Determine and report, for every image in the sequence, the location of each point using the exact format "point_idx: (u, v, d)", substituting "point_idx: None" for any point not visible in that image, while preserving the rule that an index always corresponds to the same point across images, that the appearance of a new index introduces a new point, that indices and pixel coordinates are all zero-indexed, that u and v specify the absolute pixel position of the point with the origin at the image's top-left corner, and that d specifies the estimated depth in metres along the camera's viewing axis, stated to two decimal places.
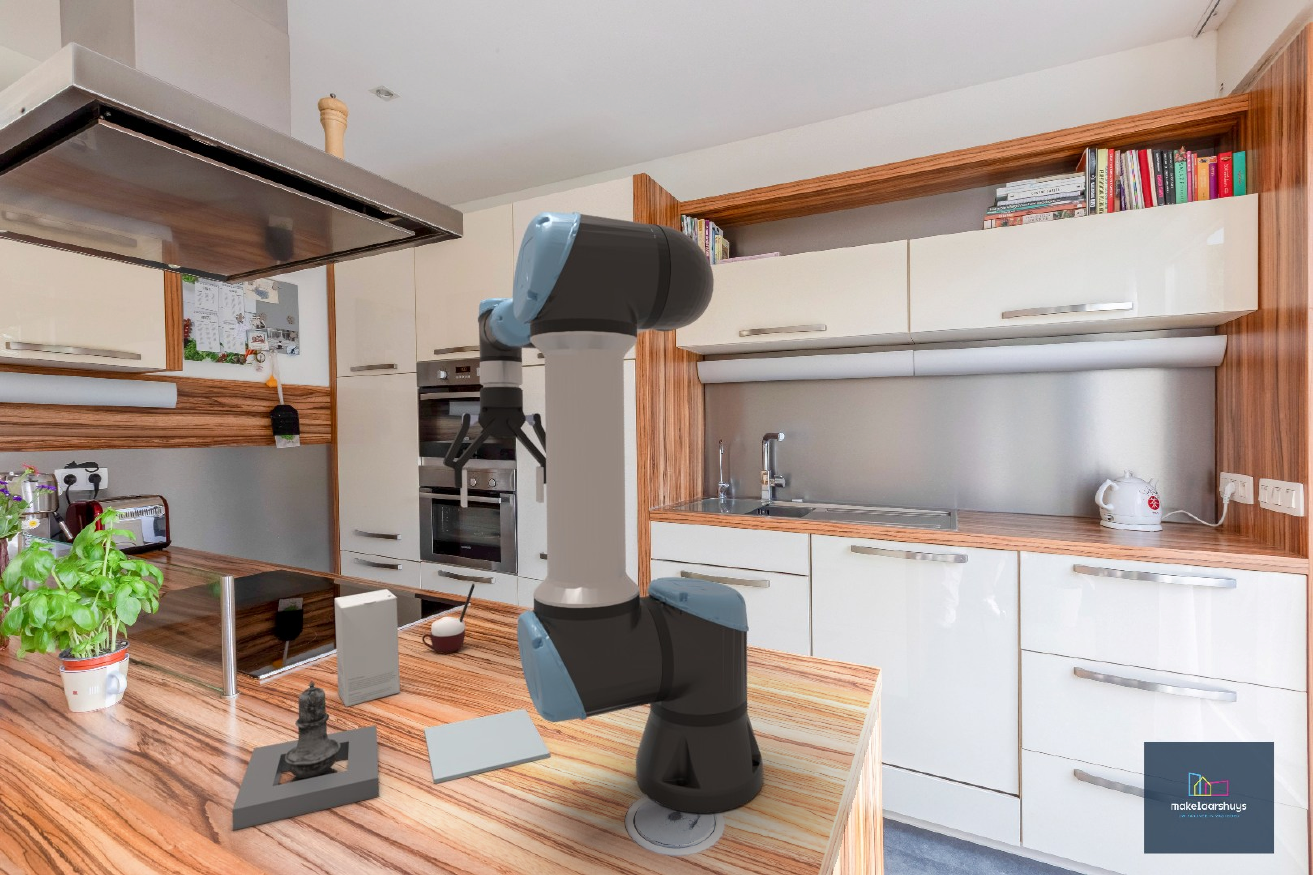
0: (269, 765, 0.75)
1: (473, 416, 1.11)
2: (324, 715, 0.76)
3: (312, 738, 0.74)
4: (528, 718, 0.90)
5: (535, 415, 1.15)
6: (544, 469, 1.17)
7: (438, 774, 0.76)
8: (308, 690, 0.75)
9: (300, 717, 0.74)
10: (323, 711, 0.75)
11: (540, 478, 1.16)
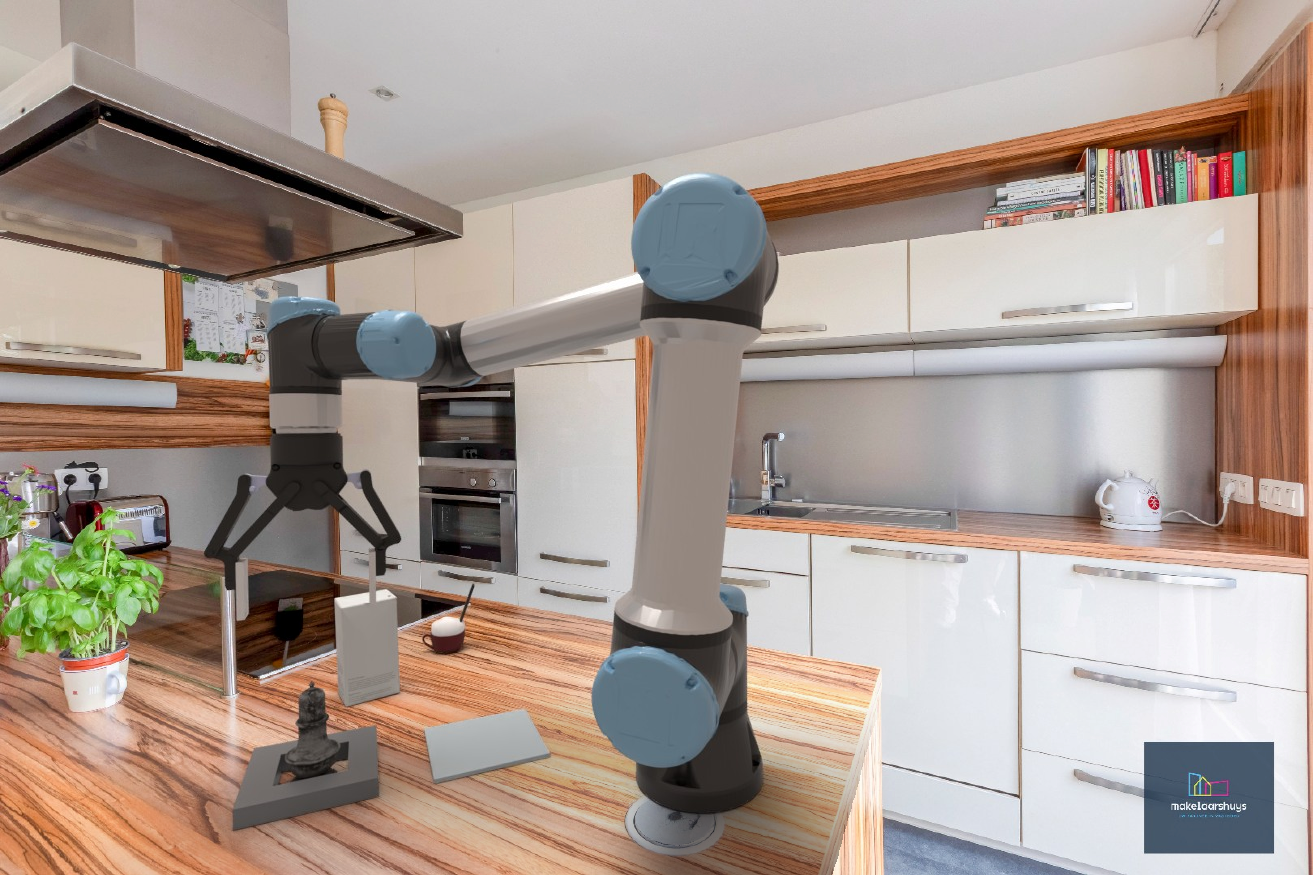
0: (269, 765, 0.75)
1: (257, 478, 0.72)
2: (324, 715, 0.76)
3: (312, 738, 0.74)
4: (528, 718, 0.90)
5: (362, 474, 0.76)
6: (378, 554, 0.78)
7: (438, 774, 0.76)
8: (308, 690, 0.75)
9: (300, 717, 0.74)
10: (323, 711, 0.75)
11: (370, 568, 0.77)
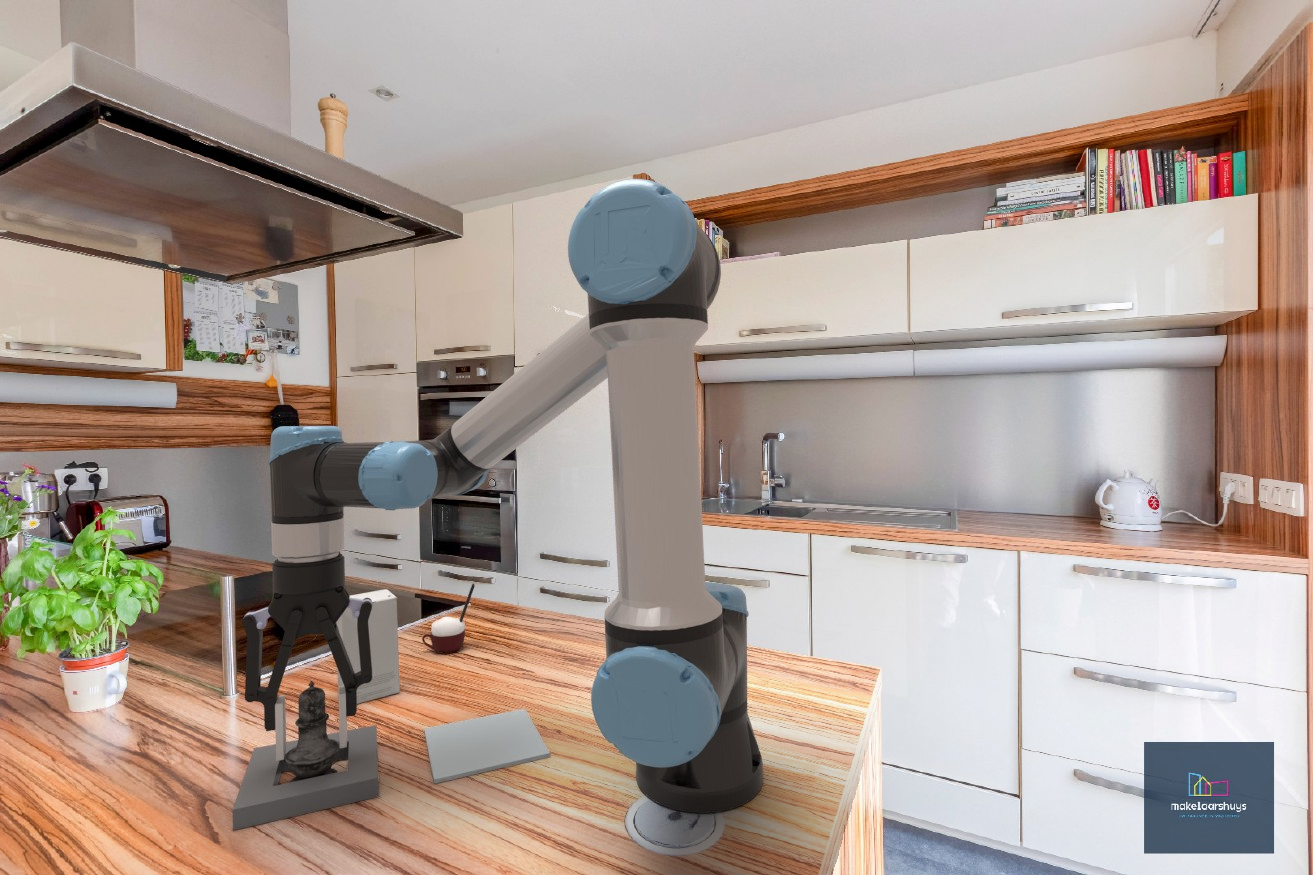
0: (269, 765, 0.75)
1: (260, 613, 0.73)
2: (324, 715, 0.76)
3: (312, 738, 0.74)
4: (528, 718, 0.90)
5: (364, 605, 0.76)
6: (349, 694, 0.76)
7: (438, 774, 0.76)
8: (308, 690, 0.75)
9: (300, 717, 0.74)
10: (323, 711, 0.75)
11: (340, 710, 0.75)
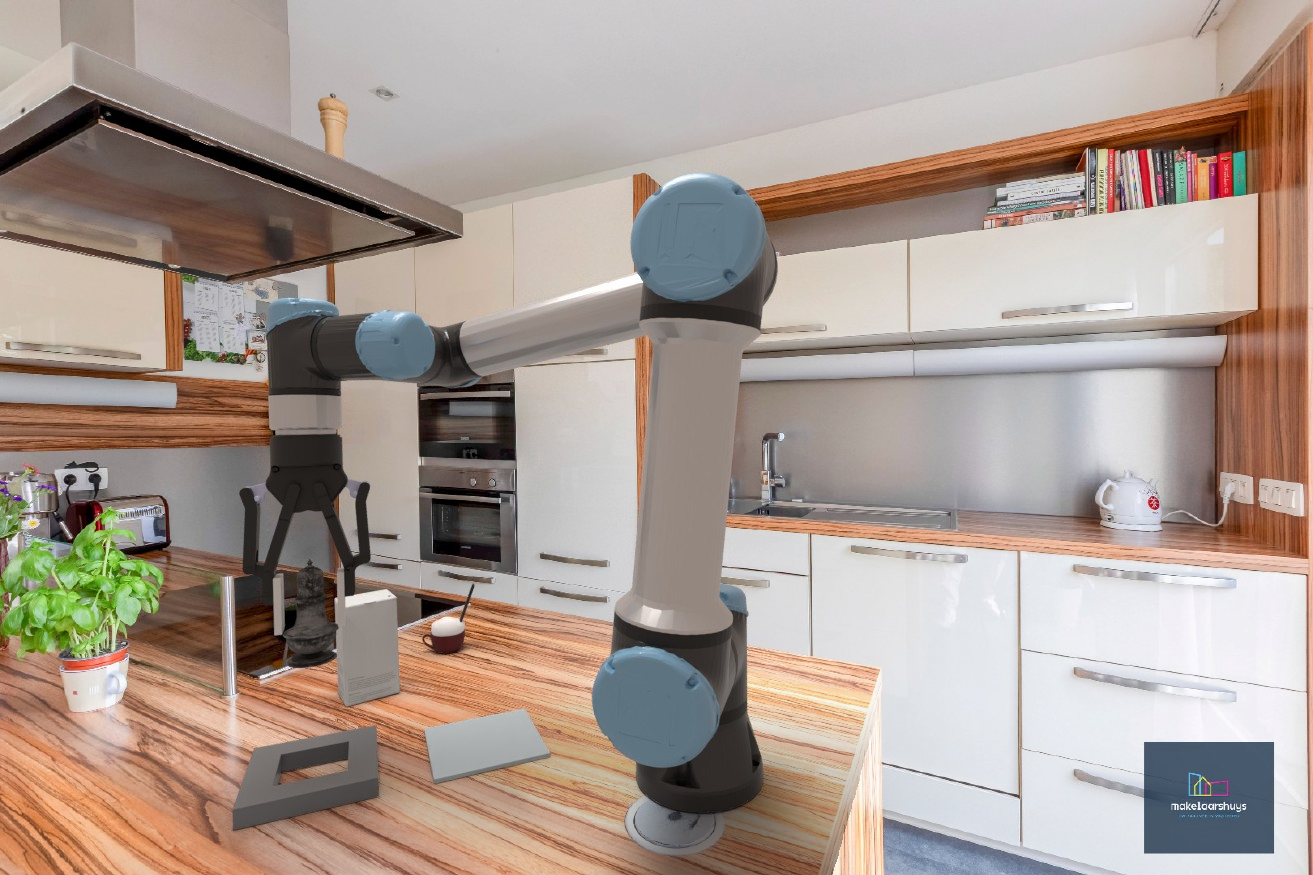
0: (269, 765, 0.75)
1: (257, 487, 0.72)
2: (322, 594, 0.75)
3: (310, 615, 0.74)
4: (528, 718, 0.90)
5: (362, 484, 0.76)
6: (347, 574, 0.76)
7: (438, 774, 0.76)
8: (306, 568, 0.75)
9: (298, 594, 0.74)
10: (321, 589, 0.75)
11: (339, 589, 0.75)
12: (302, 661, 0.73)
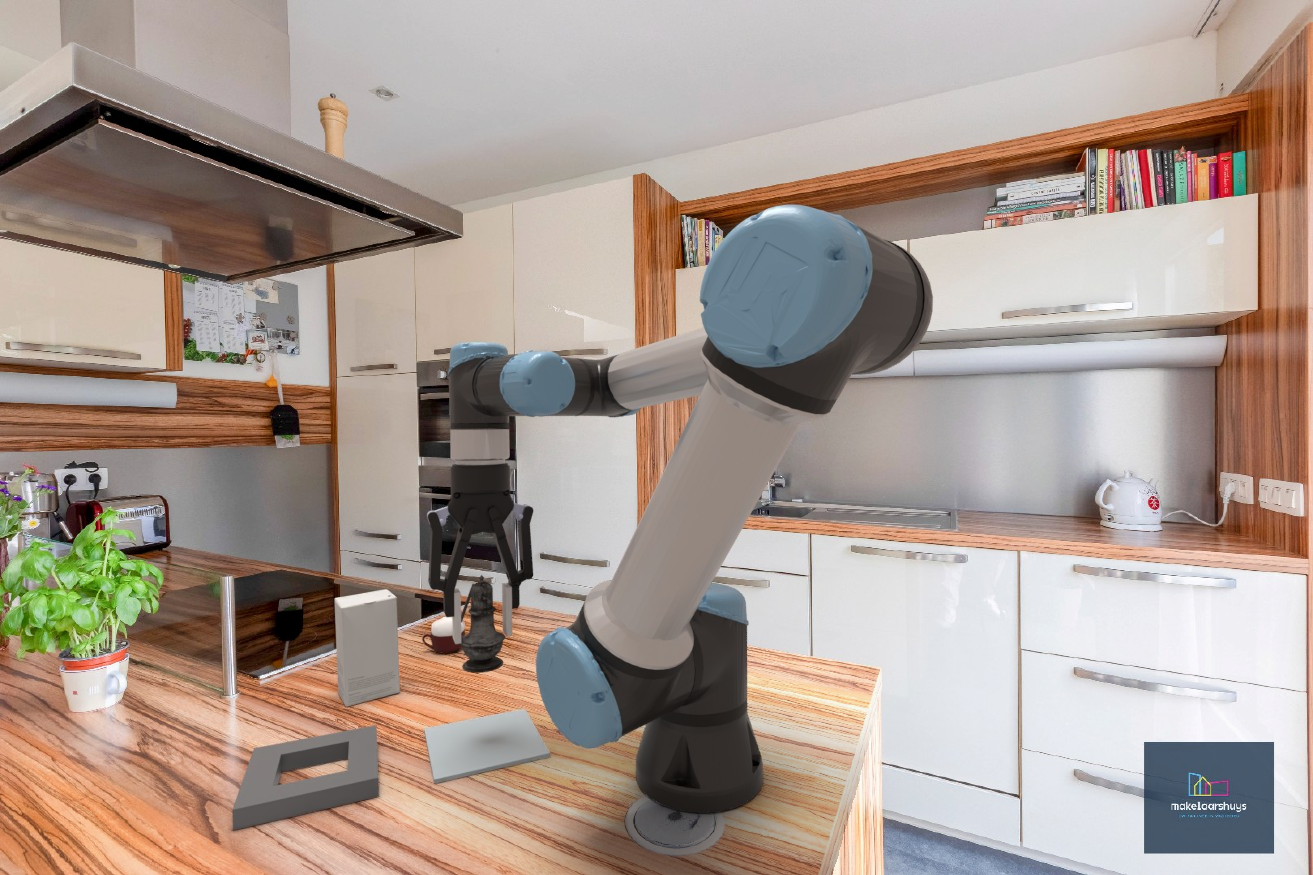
0: (269, 765, 0.75)
1: (441, 511, 0.81)
2: (492, 606, 0.84)
3: (484, 625, 0.82)
4: (528, 718, 0.90)
5: (527, 508, 0.85)
6: (513, 589, 0.85)
7: (438, 774, 0.76)
8: (479, 583, 0.83)
9: (473, 606, 0.82)
10: (492, 602, 0.84)
11: (507, 602, 0.84)
12: (477, 666, 0.82)
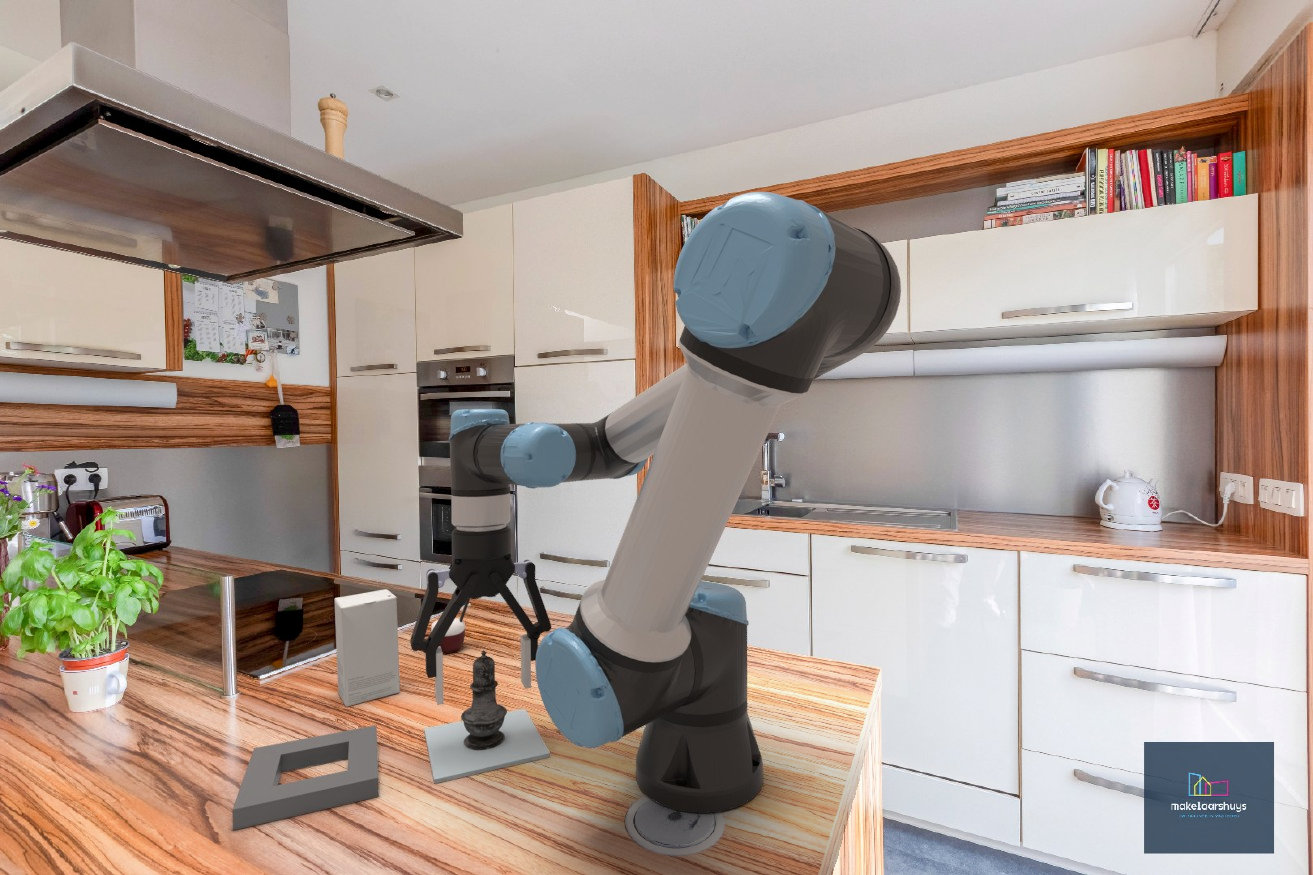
0: (269, 765, 0.75)
1: (442, 573, 0.81)
2: (494, 681, 0.84)
3: (486, 701, 0.82)
4: (528, 718, 0.90)
5: (528, 565, 0.85)
6: (532, 641, 0.86)
7: (438, 774, 0.76)
8: (481, 658, 0.83)
9: (475, 682, 0.83)
10: (494, 677, 0.84)
11: (526, 655, 0.85)
12: (479, 743, 0.82)
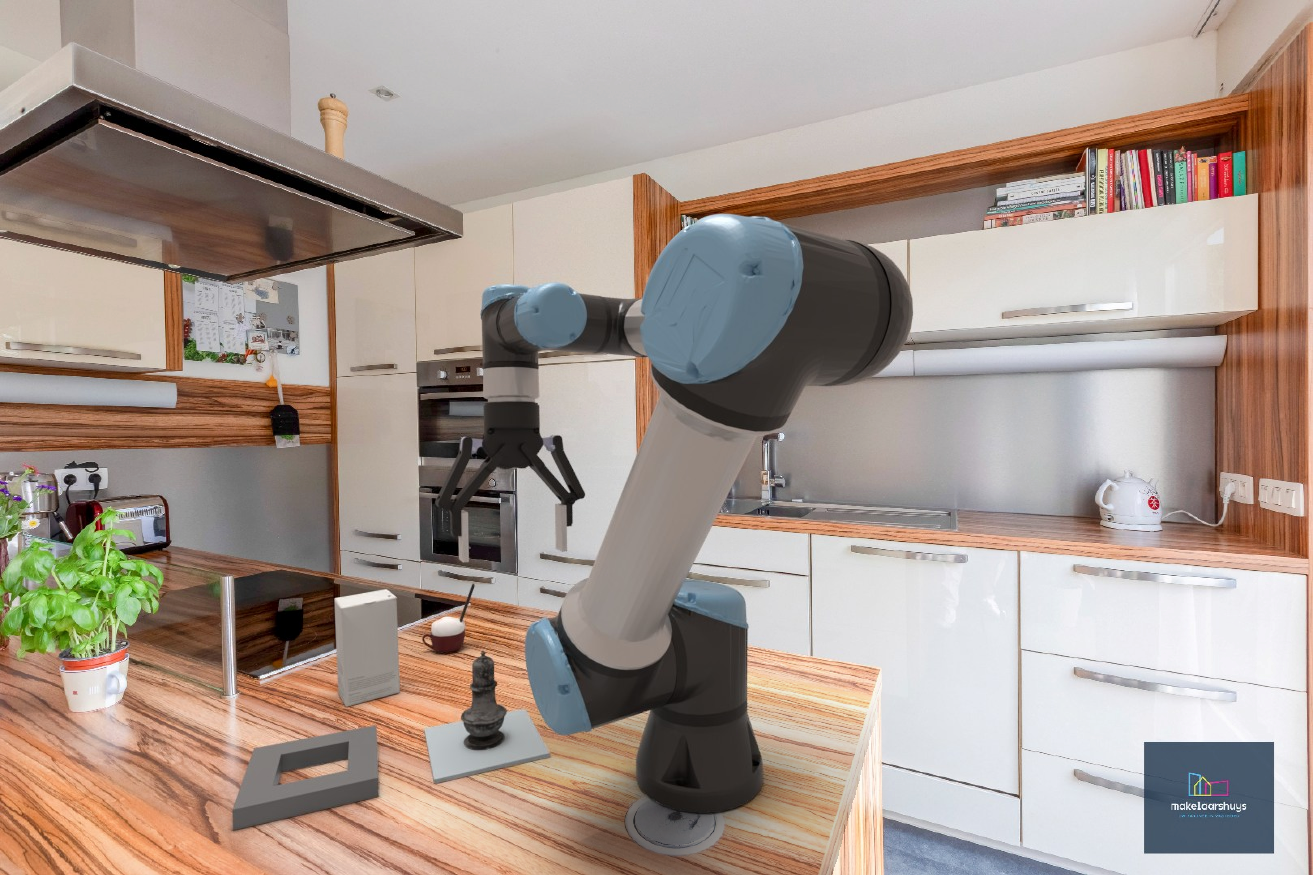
0: (269, 765, 0.75)
1: (476, 440, 0.84)
2: (494, 681, 0.84)
3: (486, 701, 0.82)
4: (528, 718, 0.90)
5: (555, 438, 0.89)
6: (567, 507, 0.90)
7: (438, 774, 0.76)
8: (481, 658, 0.83)
9: (475, 682, 0.83)
10: (493, 677, 0.84)
11: (562, 520, 0.89)
12: (479, 743, 0.82)
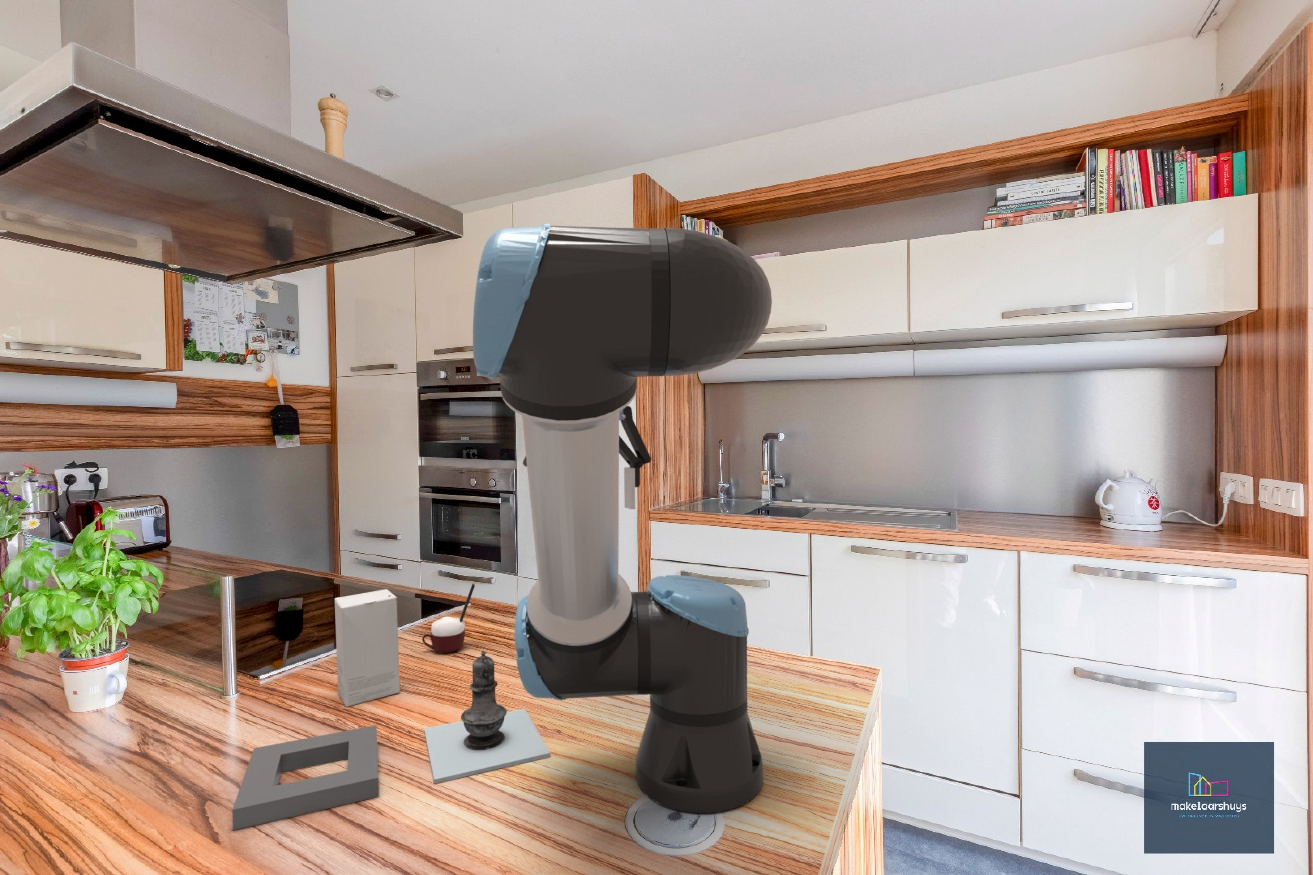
0: (269, 765, 0.75)
1: None
2: (494, 681, 0.84)
3: (486, 701, 0.82)
4: (528, 718, 0.90)
5: (626, 408, 1.00)
6: (635, 470, 1.01)
7: (438, 774, 0.76)
8: (481, 658, 0.83)
9: (475, 682, 0.83)
10: (493, 677, 0.84)
11: (631, 481, 1.00)
12: (479, 743, 0.82)
